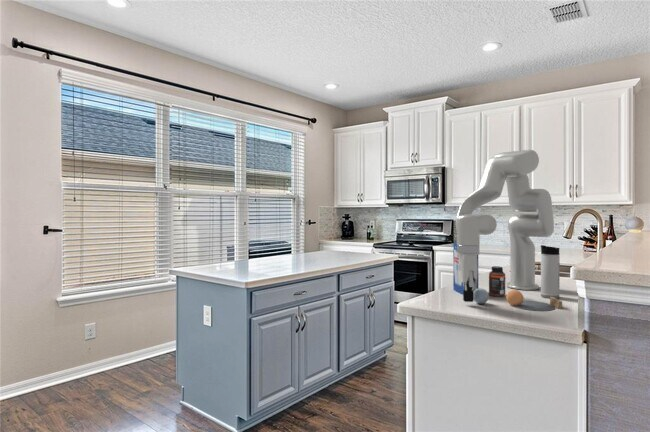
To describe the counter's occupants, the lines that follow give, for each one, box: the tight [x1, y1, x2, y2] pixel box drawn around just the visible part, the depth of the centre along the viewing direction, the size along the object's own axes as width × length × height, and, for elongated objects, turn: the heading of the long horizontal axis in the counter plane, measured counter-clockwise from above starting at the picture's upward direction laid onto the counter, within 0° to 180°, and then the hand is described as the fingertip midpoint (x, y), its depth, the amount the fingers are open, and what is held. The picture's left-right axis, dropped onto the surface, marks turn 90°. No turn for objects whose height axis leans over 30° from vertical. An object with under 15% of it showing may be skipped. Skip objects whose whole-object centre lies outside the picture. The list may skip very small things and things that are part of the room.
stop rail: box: [549, 297, 563, 310], centre depth 140 cm, size 7×1×2 cm, turn 172°
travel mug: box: [540, 244, 561, 299], centre depth 154 cm, size 6×7×20 cm
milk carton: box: [452, 242, 479, 295], centre depth 165 cm, size 10×6×20 cm, turn 5°
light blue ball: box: [473, 287, 490, 305], centre depth 145 cm, size 6×6×6 cm
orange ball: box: [505, 289, 524, 306], centre depth 142 cm, size 6×6×6 cm
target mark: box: [511, 300, 556, 312], centre depth 141 cm, size 14×14×1 cm
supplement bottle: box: [488, 265, 506, 298], centre depth 158 cm, size 6×6×11 cm
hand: (468, 301), depth 143 cm, fingers closed
